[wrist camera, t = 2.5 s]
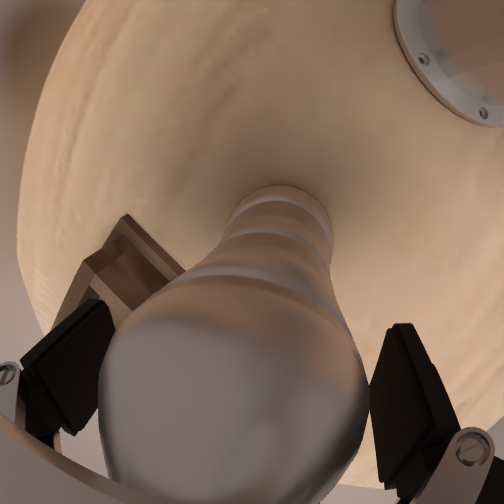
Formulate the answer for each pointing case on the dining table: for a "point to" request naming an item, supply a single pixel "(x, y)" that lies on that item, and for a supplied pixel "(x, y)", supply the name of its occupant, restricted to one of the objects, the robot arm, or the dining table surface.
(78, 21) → the dining table surface
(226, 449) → the plastic bottle
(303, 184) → the dining table surface
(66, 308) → the bottle caddy
